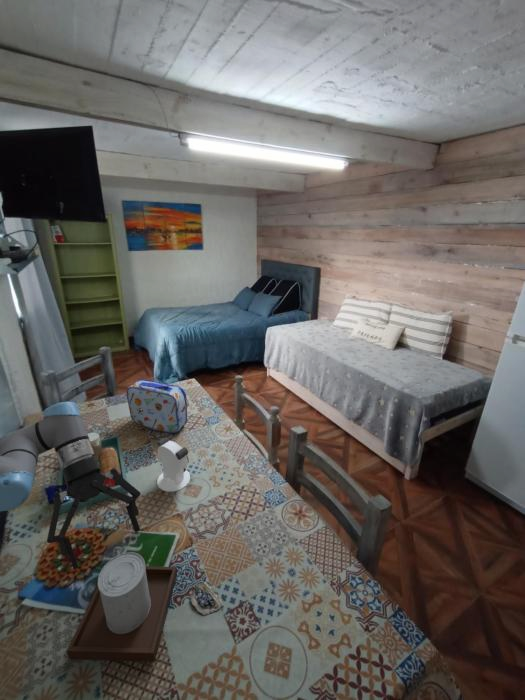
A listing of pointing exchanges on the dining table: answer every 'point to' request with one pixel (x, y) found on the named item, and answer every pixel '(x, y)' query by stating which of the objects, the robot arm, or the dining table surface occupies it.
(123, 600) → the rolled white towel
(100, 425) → the dining table surface
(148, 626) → the tray
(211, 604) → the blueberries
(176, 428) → the lunch box
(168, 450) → the white upright piece
